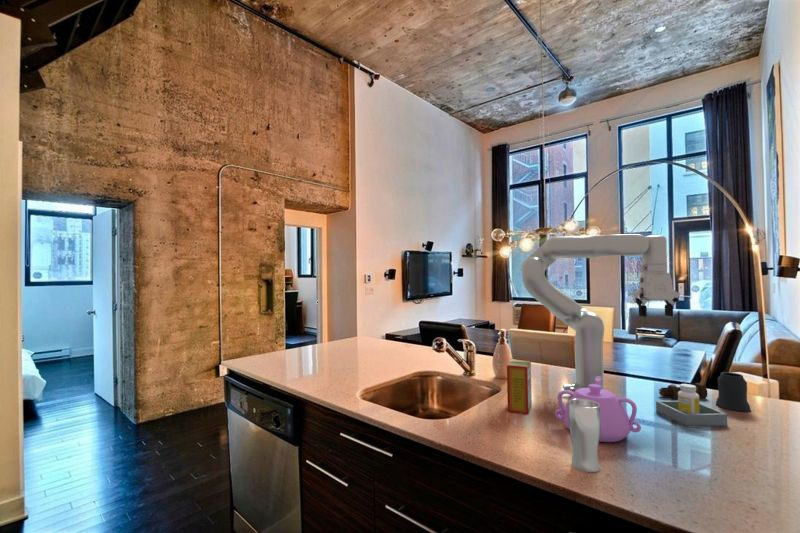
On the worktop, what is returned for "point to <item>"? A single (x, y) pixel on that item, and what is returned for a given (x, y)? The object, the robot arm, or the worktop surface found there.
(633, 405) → the purple lidded sugar bowl
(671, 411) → the tray
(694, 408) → the supplement bottle
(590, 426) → the beer glass
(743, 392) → the mug
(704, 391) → the bolt
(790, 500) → the worktop surface
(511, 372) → the baking soda box
